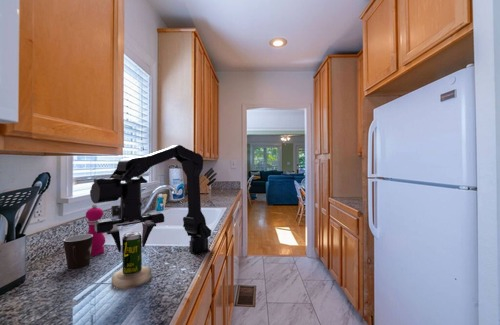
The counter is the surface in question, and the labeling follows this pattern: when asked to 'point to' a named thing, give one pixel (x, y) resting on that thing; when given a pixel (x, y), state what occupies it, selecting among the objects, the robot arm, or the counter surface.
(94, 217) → the pepper mill
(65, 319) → the counter surface
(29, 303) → the counter surface
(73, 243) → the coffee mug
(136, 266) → the beer can
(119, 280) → the plate
